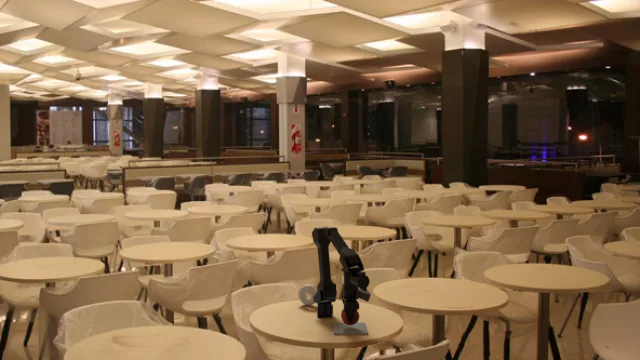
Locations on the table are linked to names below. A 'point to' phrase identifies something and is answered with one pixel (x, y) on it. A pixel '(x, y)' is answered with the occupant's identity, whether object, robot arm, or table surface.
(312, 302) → the donut
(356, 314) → the apple
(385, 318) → the table surface
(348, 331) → the mat
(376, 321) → the table surface
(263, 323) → the table surface
